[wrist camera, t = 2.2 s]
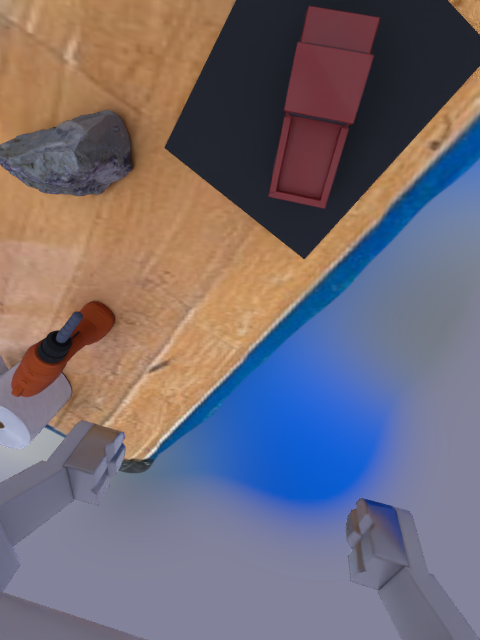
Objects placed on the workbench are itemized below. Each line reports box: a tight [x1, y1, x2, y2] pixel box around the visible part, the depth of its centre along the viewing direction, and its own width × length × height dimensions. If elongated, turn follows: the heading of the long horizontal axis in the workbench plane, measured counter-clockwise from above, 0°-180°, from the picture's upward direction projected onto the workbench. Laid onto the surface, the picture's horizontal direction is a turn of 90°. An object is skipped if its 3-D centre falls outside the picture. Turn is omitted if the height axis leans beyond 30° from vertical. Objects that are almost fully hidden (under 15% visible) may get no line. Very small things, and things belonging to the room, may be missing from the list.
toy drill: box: [11, 302, 115, 397], centre depth 38 cm, size 5×19×15 cm, turn 136°
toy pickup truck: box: [268, 6, 380, 208], centre depth 26 cm, size 13×6×8 cm, turn 171°
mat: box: [165, 0, 480, 259], centre depth 29 cm, size 19×22×1 cm
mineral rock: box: [0, 110, 133, 196], centre depth 30 cm, size 13×11×10 cm
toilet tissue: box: [0, 356, 72, 449], centre depth 52 cm, size 11×12×10 cm
